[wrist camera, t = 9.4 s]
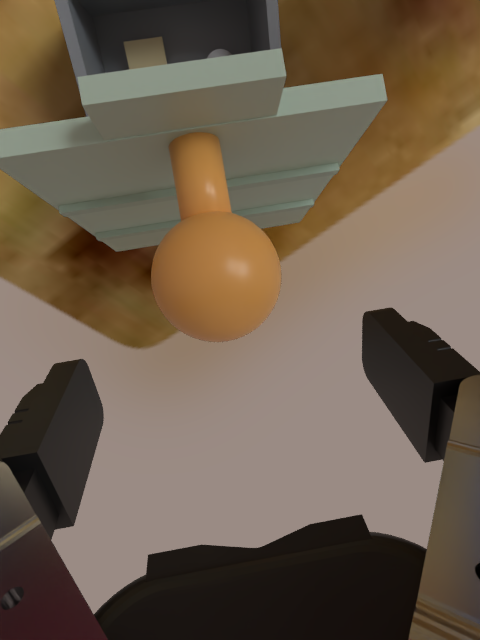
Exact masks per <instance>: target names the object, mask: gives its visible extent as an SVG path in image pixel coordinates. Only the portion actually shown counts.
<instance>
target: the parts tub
mask: <svg viewBox="0 0 480 640" xmlns="http://www.w3.org/2000/svg"><path fill="white" fill-rule="evenodd" d="M55 4H56V8H57V11H58V15H59V19H60V22H61V26H62V30H63V33H64V37H65V41H66V44H67V48H68V52H69V55H70V59H71V62H72V66H73V70H74V73H75V77H76V81H77V84H78V78H77V77H81V76H88V75H95V74H102V73H109V72H116V71H123V70H130V69H137V68H144V67H152V66H159V65H166V64H173V63H180V62H187V61H194V60H201V59H208V58H215V57H222V56H229V55H237V54H244V53H251V52H258V51H265V50H272V49H279V48H281V40H280V25H279V11H278V0H55ZM78 88H79V84H78ZM79 92H80V90H79ZM84 110H85V109H84ZM85 114H86V117H88V116H89V115H88V114H87V112H86V111H85Z"/></svg>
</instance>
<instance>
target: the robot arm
mask: <svg viewBox="0 0 480 640" xmlns="http://www.w3.org/2000/svg"><path fill="white" fill-rule="evenodd" d="M362 329H363V330H362V333H363V334H362V362H363V367H364V371H365V374H366V376H367V378H368V380H369V381H370V383H371V384H372V386H373V387H374V389H375V390H376V392H377V393H378V395H379V396H380V397H381V399H382V400H383V402H384V403H385V405H386V406H387V408H388V409H389V411H390V412H391V413H392V415H393V416H394V418H395V420H396V421H397V422H398V424H399V425H400V427H401V428H402V430H403V431H404V433H405V434H406V436H407V437H408V439H409V440H410V441H411V443H412V444H413V446H414V448H415V449H416V450H417V452H418V453H419V455H420V456H421V458H422V459H423V461H424V462H430V461H436V460H441V459H443V461H444V463H443V469H442V474H441V479H440V484H439V489H438V494H437V500H436V505H435V510H434V515H433V520H432V525H431V530H430V536H429V541H428V546H427V549H425V548H423V547H421V546H420V545H418V544H415V543H413V542H410V541H408V540H405V539H402V538H399V537H395V536H392V535H388V534H382V533H376V532H369V530H368V528H367V525H366V523H365V521H364V519H363V516H362V515H357V516H352V517H346V518H341V519H336V520H330V521H326V522H320V523H314V524H310V525H308V526H305V527H303V528H301V529H299V530H297V531H295V532H293V533H291V534H288V535H286V536H284V537H282V538H280V539H278V540H276V541H273V542H271V543H269V544H267V545H265V546H262V547H260V548H242V547H226V546H212V545H198V546H192V547H188V548H182V549H176V550H172V551H166V552H161V553H155V554H150V555H148V562H147V573H146V575H144V576H142V577H140V578H138V579H137V580H135V581H133V582H132V583H130V584H128V585H127V586H125V587H124V588H123V589H121V590H120V591H119V592H117V593H116V594H115V595H113V596H112V597H111V598H110V599H109V600H108V601H107V602H106V603H104V604H103V605H102V606H101V607H100V608H99V610H98V611H97V612H96V613H95V614H93V613H92V611H91V609H90V607H89V606H88V604H87V602H86V600H85V599H84V597H83V595H82V593H81V592H80V590H79V588H78V587H77V585H76V583H75V581H74V579H73V578H72V576H71V574H70V573H69V571H68V569H67V567H66V565H65V564H64V562H63V560H62V559H61V557H60V555H59V553H58V552H57V550H56V548H55V546H54V544H53V543H52V541H51V539H52V536H53V532H54V530H55V529H60V528H66V527H70V526H74V523H75V520H76V516H77V513H78V509H79V506H80V502H81V499H82V495H83V491H84V488H85V484H86V481H87V478H88V474H89V471H90V467H91V464H92V460H93V457H94V453H95V450H96V446H97V442H98V439H99V436H100V432H101V429H102V426H103V407H102V403H101V400H100V397H99V394H98V392H97V389H96V386H95V384H94V381H93V378H92V375H91V373H90V370H89V367H88V365H87V363H86V361H85V360H83V359H79V360H73V361H67V362H62V363H56V364H54V365H53V366H52V368H51V370H50V372H49V374H48V375H47V377H46V379H45V381H44V383H42V384H37V385H36V386H35V387H34V388H33V389H32V390H31V391H29V392H28V393H27V394H26V395H25V396H24V397H23V398H22V400H21V401H20V403H19V405H18V406H17V408H16V410H15V413H14V414H13V415H12V416H11V418H10V419H9V421H8V425H6V426H5V428H4V429H3V431H2V433H1V434H0V640H480V372H479V371H478V370H477V369H476V368H475V367H473V366H472V365H471V364H470V363H469V362H468V361H466V360H465V359H464V358H463V357H462V356H461V355H460V354H459V353H458V352H456V351H455V350H454V349H451V347H450V345H448V344H447V343H446V342H445V341H444V340H441V338H440V337H439V336H438V335H437V334H436V333H435V332H433V331H432V330H431V329H430V328H428V327H426V326H424V325H421V324H419V323H417V322H414V321H410V322H407V321H406V320H405V319H404V318H403V317H402V316H401V315H400V314H399V313H398V312H397V311H396V310H395V309H393V308H385V309H380V310H373V311H368V312H365V313H364V315H363V326H362Z"/></svg>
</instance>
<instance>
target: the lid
mask: <svg viewBox="0 0 480 640" xmlns="http://www.w3.org/2000/svg"><path fill="white" fill-rule="evenodd" d="M77 78H78V84H79V90H80V96H81V102H82V106H83V108H84V109H85V111H86V112H87V114H88V115H89V116H88V117H82V118H75V119H68V120H61V121H54V122H47V123H40V124H33V125H27V126H20V127H13V128H6V129H0V169H1V170H2V171H4V172H5V173H7V174H8V175H9V176H11V177H12V178H14V179H15V180H17V181H18V182H19V183H21V184H22V185H24V186H25V187H26V188H28V189H29V190H31V191H32V192H33V193H35V194H36V195H38V196H39V197H40V198H42V199H43V200H45V201H46V202H47V203H49V204H50V205H52V206H53V207H54V208H56V209H57V210H59V213H60V214H61V215H63V216H64V217H68V218H70V219H71V220H73V221H74V222H75V223H77V224H78V225H80V226H81V227H83V228H84V229H85V230H87V231H88V232H90V233H91V234H92V235H94V236H95V237H96V239H97V240H98V241H102V242H104V243H105V244H106V245H108V246H109V247H111V248H112V249H113V250H115V251H116V252H118V251H124V250H131V249H137V248H143V247H149V246H156V245H159V246H158V248H157V250H156V252H155V255H154V258H153V263H152V269H151V283H152V290H153V294H154V297H155V300H156V302H157V305H158V306H159V308H160V310H161V312H162V313H163V315H164V316H165V317H166V319H167V320H168V321H169V322H170V323H171V324H172V325H173V326H175V327H176V328H177V329H178V330H180V331H181V332H183V333H185V334H186V335H188V336H191V337H193V338H196V339H199V340H203V341H209V342H224V341H230V340H234V339H238V338H240V337H243V336H245V335H247V334H249V333H250V332H252V331H253V330H255V329H256V328H257V327H259V326H260V325H261V324H262V323H263V322H264V321H265V320H266V318H267V317H268V316H269V315H270V313H271V311H272V310H273V308H274V306H275V304H276V302H277V299H278V296H279V292H280V287H281V266H280V262H279V258H278V255H277V252H276V250H275V248H274V246H273V244H272V242H271V240H270V239H269V238H268V236H267V235H266V234H265V233H264V232H263V231H262V230H261V228H267V227H274V226H280V225H286V224H292V223H299V222H300V221H301V220H302V218H303V217H304V216H305V214H306V213H307V211H308V210H309V209H310V208H311V207H313V205H314V202H315V200H316V199H317V197H318V196H319V195H320V193H321V192H322V191H323V189H324V188H325V186H326V185H327V184H328V182H329V181H330V179H331V178H332V177H333V175H336V174H337V173H338V171H339V170H340V169H339V167H340V165H341V164H342V163H343V161H344V160H345V159H346V157H347V156H348V154H349V153H350V152H351V150H352V149H353V147H354V146H355V145H356V143H357V142H358V140H359V139H360V138H361V136H362V135H363V133H364V132H365V131H366V129H367V128H368V127H369V125H370V124H371V122H372V121H373V120H374V118H375V117H376V115H377V114H378V113H379V111H380V110H381V108H382V107H383V106H384V104H385V103H386V101H387V96H386V90H385V84H384V79H383V74H377V75H370V76H363V77H356V78H349V79H342V80H336V81H329V82H322V83H315V84H308V85H301V86H294V87H288V88H284V84H285V80H286V70H285V65H284V59H283V53H282V48H279V49H272V50H265V51H258V52H251V53H244V54H237V55H229V56H222V57H215V58H208V59H201V60H194V61H187V62H180V63H173V64H166V65H159V66H152V67H144V68H137V69H130V70H123V71H116V72H109V73H102V74H95V75H88V76H81V77H77Z"/></svg>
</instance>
